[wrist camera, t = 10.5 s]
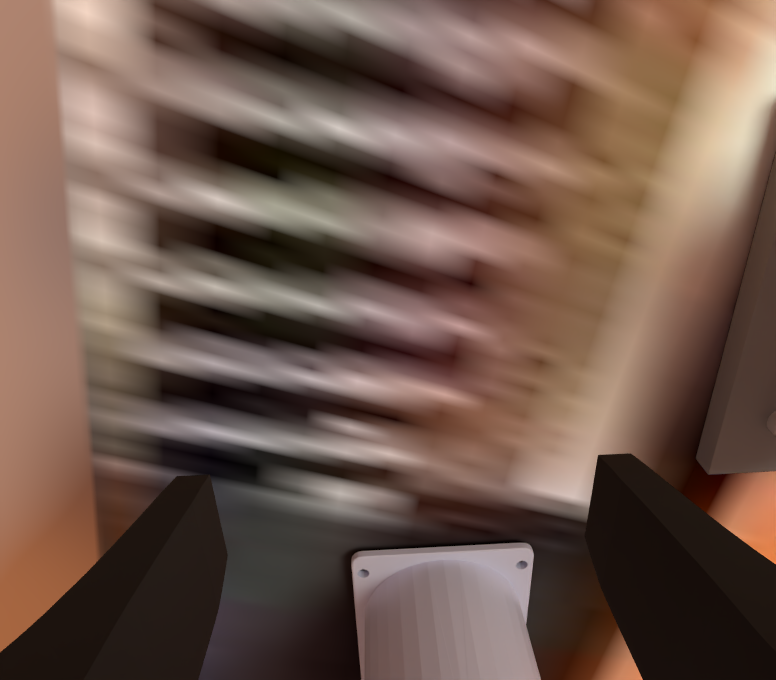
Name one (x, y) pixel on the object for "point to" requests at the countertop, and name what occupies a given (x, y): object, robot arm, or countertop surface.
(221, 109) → the countertop surface
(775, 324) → the peg stand
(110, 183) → the countertop surface
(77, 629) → the robot arm
